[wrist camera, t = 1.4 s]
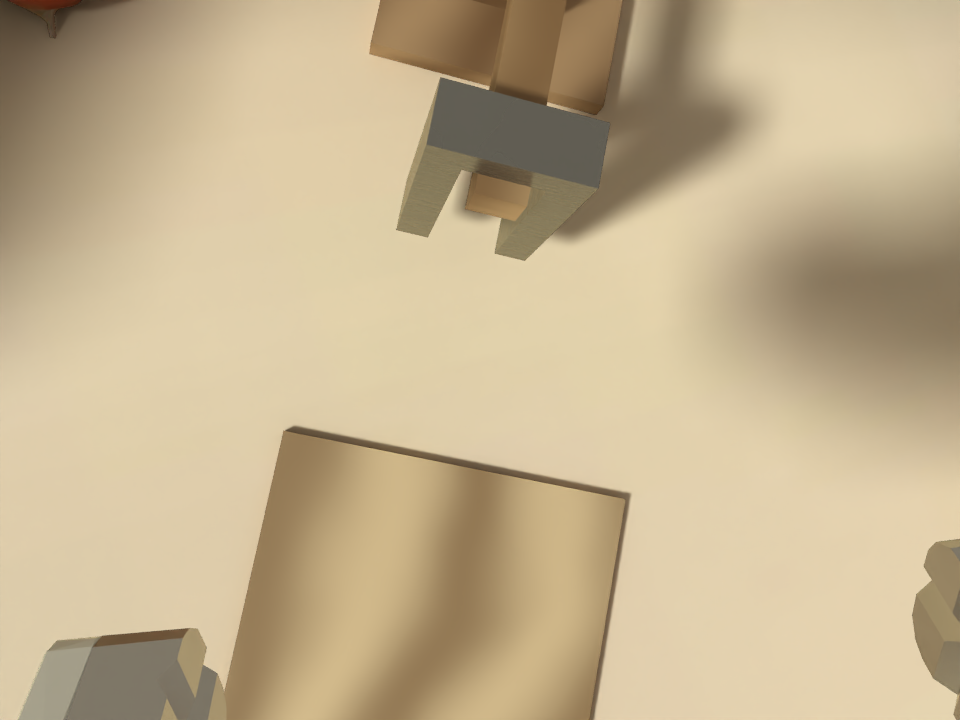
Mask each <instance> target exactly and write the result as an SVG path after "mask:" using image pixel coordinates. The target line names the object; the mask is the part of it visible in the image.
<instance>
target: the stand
mask: <svg viewBox="0 0 960 720" xmlns="http://www.w3.org/2000/svg"><path fill="white" fill-rule="evenodd" d="M622 2H623V0H381V1H380V5H379V9H378V14H377V18H376V23H375V27H374V31H373V36H372V40H371V46H370V53H369V54H372V55H376V56H380V57H383V58H387V59H391V60H394V61H398V62H402V63H406V64H409V65H413V66H417V67H420V68H424V69H428V70H431V71H435V72H439V73H443V74H446V75H450V76H454V77H457V78H461V79H465V80H469V81H472V82H476V83H480V84H483V85H487V86H490V88H489V91H493V92H497V93H501V94H504V95H508V96H512V97H515V98H519V99H523V100H527V101H530V102H534V103H538V104H542V105H545V106H546V105H547V102H550V103H554V104H558V105H561V106H565V107H569V108H573V109H576V110H580V111H584V112H587V113H591V114H595V115H597V113H598V112H599V111H600V110H601V108H602V107H603V106H604V101H605V95H606V90H607V84H608V79H609V73H610V68H611V62H612V57H613V51H614V46H615V40H616V35H617V29H618V24H619V18H620V13H621V7H622ZM530 189H531V187H528V186H525V185H521V184H517V183H513V182H509V181H505V180H501V179H497V178H493V177H489V176H485V175H481V174H477V173H473V172H472V177H471V182H470V187H469V192H468V197H467V202H466V207H465V209H468V210H472V211H476V212H480V213H484V214H488V215H492V216H496V217H500V218H504V219H508V220H512V221H516V219H517V218H518V217H519V216H520V215H521V213H522V212H523V211H524V210H525V208H526V207H527V205H528V199H529V194H530Z"/></svg>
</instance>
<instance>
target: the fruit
mask: <svg viewBox="0 0 960 720" xmlns="http://www.w3.org/2000/svg"><path fill="white" fill-rule="evenodd" d="M8 1H10V2H12V3H14V4H16V5H18V6H20V7H23V8H25V9H27V10H29V11H30V12H32V13H34V14H36V15H38V16H40V17H41V18H43V19H44V20H45V21H46V22H47V26H48V30H49V34H50V38H51V37H52V36H53V37H54V38H55V37H56V32H55V29H56V27H55V17H54V15H55V13H56V11H57V10H58V9H59V8H66V7H72V6H74V5H77V4H78V3H79V2H81V1H82V0H8Z"/></svg>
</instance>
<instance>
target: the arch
mask: <svg viewBox="0 0 960 720" xmlns="http://www.w3.org/2000/svg"><path fill="white" fill-rule="evenodd" d="M609 127H610V123H609V122H605V121H601V120H597V119H594V118H590V117H586V116H582V115H579V114H575V113H571V112H568V111H564V110H560V109H556V108H553V107H549V106H545V105H542V104H538V103H534V102H530V101H527V100H523V99H519V98H515V97H512V96H508V95H504V94H501V93H497V92H493V91H489V90H486V89H482V88H478V87H475V86H471V85H467V84H463V83H460V82H456V81H452V80H448V79H445V78H441V77H440V80H439V83H438V87H437V90H436V93H435V96H434V99H433V102H432V105H431V108H430V111H429V114H428V117H427V120H426V123H425V126H424V129H423V132H422V135H421V138H420V141H419V145H418V148H417V151H416V154H415V157H414V160H413V163H412V166H411V169H410V172H409V175H408V178H407V182H406V187H405V191H404V196H403V201H402V205H401V210H400V215H399V219H398V224H397V229H396V230H399V231H403V232H407V233H411V234H415V235H419V236H424V237H428V236H429V234H430V232H431V230H432V228H433V226H434V224H435V222H436V220H437V218H438V216H439V214H440V212H441V210H442V208H443V206H444V204H445V202H446V200H447V198H448V196H449V194H450V192H451V190H452V188H453V186H454V184H455V182H456V180H457V178H458V176H459V174H460V172H461V170H465V171H469V172H473V173H477V174H481V175H485V176H489V177H493V178H497V179H501V180H505V181H509V182H513V183H517V184H521V185H525V186H528V187H531V189H530V194H529V199H528V205H527V207H526V208H525V210H524V211H523V212H522V213H521V215H520V216H519V217H518V218H517V219H516V221H512V220H508V219H504V218H501V223H500V228H499V233H498V238H497V243H496V248H495V254H499V255H503V256H507V257H511V258H515V259H520V260H524V261H525V260H526V259H527V258H528V257H529V256H530V255H531V254H532V253H533V252H534V251H535V250H536V249H537V248H538V247H539V246H540V245H541V244H542V243H543V242H544V241H545V240H546V239H548V238H549V237H550V236H551V235H552V234H553V233H554V232H555V231H556V230H557V229H558V228H559V227H560V226H561V225H562V224H563V223H564V222H565V221H566V220H567V219H568V218H569V217H570V216H571V215H572V214H573V213H574V212H575V211H576V210H577V209H578V208H579V207H580V206H581V205H582V204H583V203H584V202H585V201H586V200H587V199H588V198H589V197H590V196H591V195H592V194H593V193H594V192H595V191H596V190H598V188H599V182H600V177H601V171H602V166H603V160H604V155H605V149H606V143H607V138H608V132H609Z"/></svg>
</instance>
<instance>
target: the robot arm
mask: <svg viewBox="0 0 960 720" xmlns="http://www.w3.org/2000/svg"><path fill="white" fill-rule="evenodd" d="M924 568H925V569H926V571H927V573H928V574H929V576H930V577H931V579H932V581H931V582H929V583H928V584H927V585H926V586H925V587H924V588H923V589H922V590H921V591H919V592H918V593H917V594H916V599H915V604H914V609H913V614H912V617H913V624H914V632H915V639H916V642H917V645H918V648H919V650H920V653H921V656H922V659H923V660H924V662H925V664H926V666H927V668H928V670H929V671H930V673H931V675H932V677H933V679H935V680H936V681H938V682H939V683H941V684H942V685H944V686H945V687H947V688H948V689H950V690H951V691H953V692H954V693H956V694H957V700H956V705H955V710H954V716H955V718H956V720H960V539H955V540H947V541H939V542H936V543H935V544H934V545H933V546H932V547H931V548H930V549H929V550H928V553H927V556H926V560H925V563H924ZM206 649H207V647H206V645H205V643H204V641H203V639H202V637H201V635H200V632H199V630H198V629H196V628H186V629H174V630H163V631H151V632H140V633H129V634H117V635H106V636H99V637H89V638H78V639H68V640H58V641H56V642H55V643H54V644H53V645H52V647H51V648H50V649H49V650H48V651H47V652H46V653H45V655H44V657H43V660H42V662H41V664H40V667H39V669H38V672H37V674H36V676H35V679H34V681H33V683H32V686H31V688H30V691H29V693H28V695H27V698H26V700H25V703H24V705H23V707H22V710H21V712H20V714H19V717H18V719H17V720H226V713H227V706H226V701H225V695H224V690H223V686H222V684H221V681H220V679H219V676H218V674H217V673H216V672H214V671H213V670H211V669H209V668H208V667H206V666H204V665H203V662H204V658H205V653H206Z"/></svg>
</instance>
